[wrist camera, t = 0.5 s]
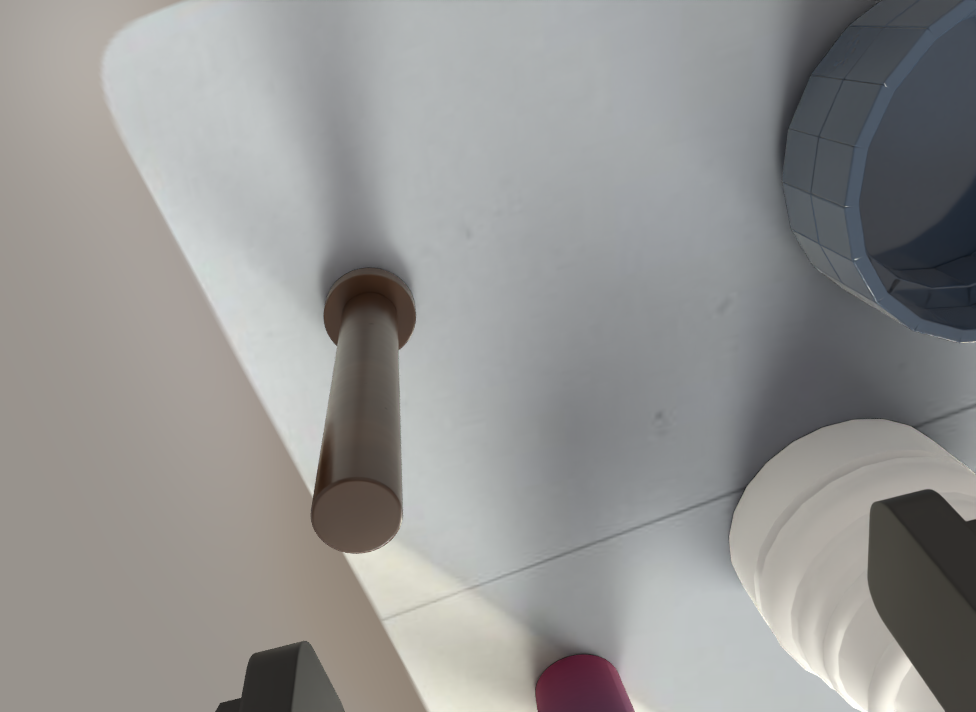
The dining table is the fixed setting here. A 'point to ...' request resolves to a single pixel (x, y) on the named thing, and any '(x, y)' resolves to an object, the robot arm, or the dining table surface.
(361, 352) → the stick
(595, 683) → the cup
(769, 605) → the honey pot
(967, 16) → the bowl
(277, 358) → the dining table surface
